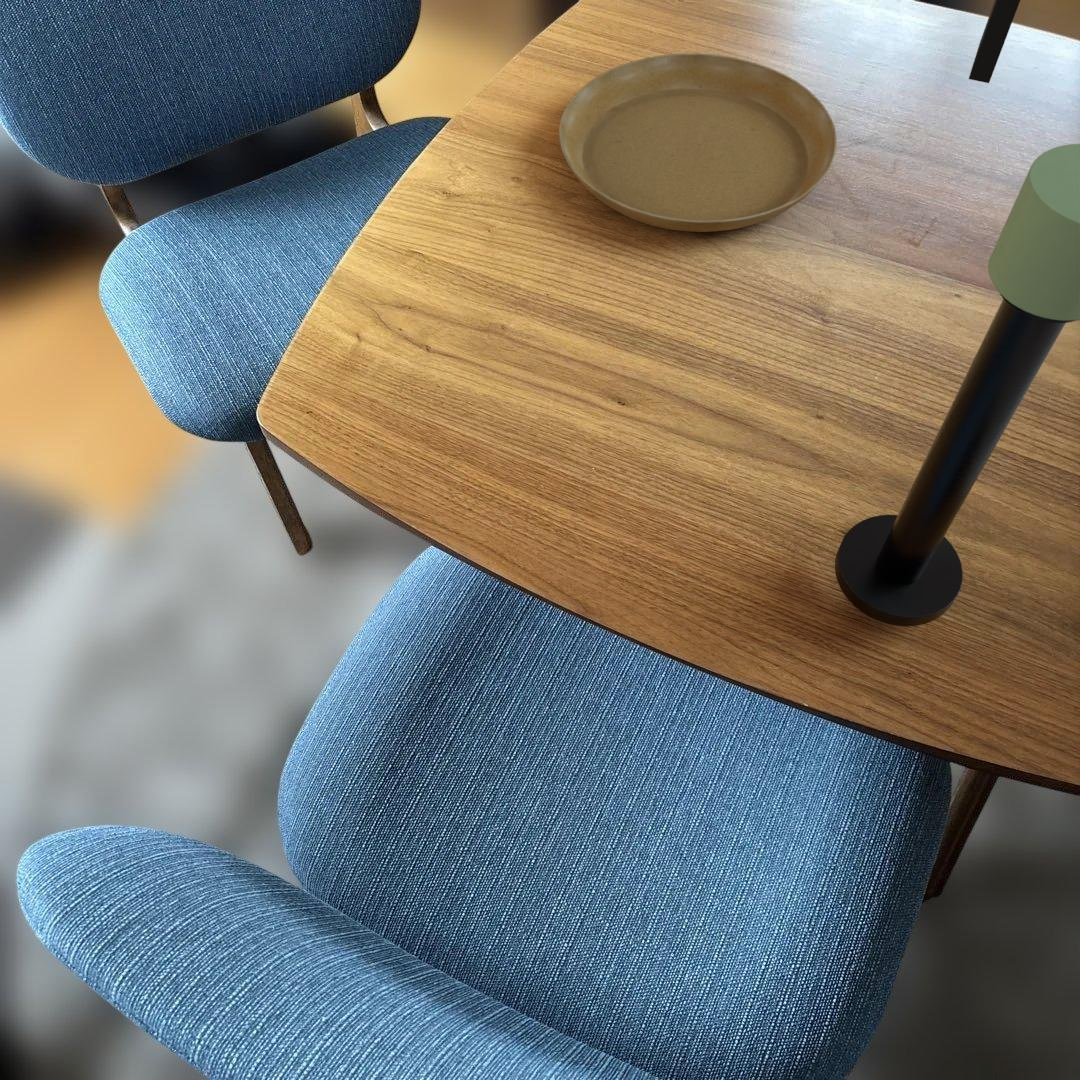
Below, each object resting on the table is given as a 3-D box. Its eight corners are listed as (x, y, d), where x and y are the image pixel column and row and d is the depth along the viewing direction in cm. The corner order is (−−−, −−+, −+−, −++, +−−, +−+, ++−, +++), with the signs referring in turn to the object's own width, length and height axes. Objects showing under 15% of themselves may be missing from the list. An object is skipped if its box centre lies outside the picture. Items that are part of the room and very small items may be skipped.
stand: (981, 601, 67) (1184, 309, 46) (877, 643, 66) (1035, 362, 44) (912, 509, 72) (1067, 201, 50) (812, 547, 70) (927, 245, 48)
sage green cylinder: (1142, 299, 46) (1200, 208, 42) (1039, 335, 45) (1088, 245, 41) (1061, 223, 49) (1109, 130, 45) (962, 255, 48) (1001, 163, 44)
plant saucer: (520, 117, 97) (519, 84, 94) (750, 60, 101) (755, 28, 98) (623, 283, 84) (625, 251, 81) (880, 210, 89) (890, 178, 86)
